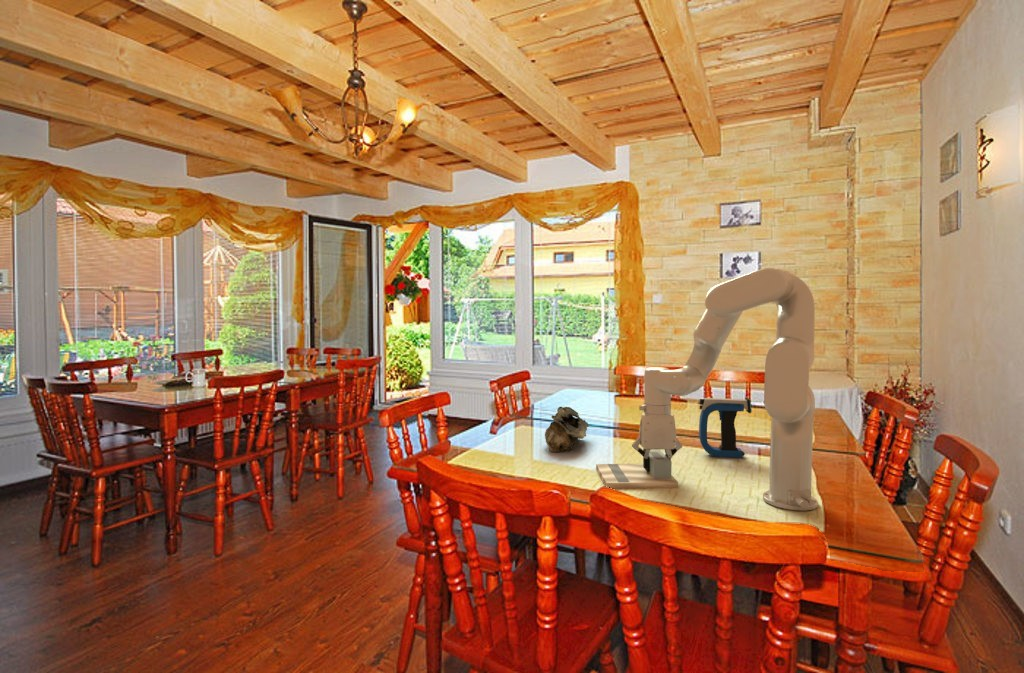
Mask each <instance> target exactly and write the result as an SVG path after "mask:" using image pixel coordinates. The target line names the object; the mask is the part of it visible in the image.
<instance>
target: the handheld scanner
mask: <svg viewBox="0 0 1024 673" xmlns="http://www.w3.org/2000/svg"><path fill="white" fill-rule="evenodd" d="M751 402H752V401H751V399H750V398H749V397H745V398H742V399H741V398H717V397H714V398H713V397H704V398H700V399H699V410H701V411H700V415H699V421H698V423H699V424H698V436H699V437H698V438H699V441H700V442H699V443H700V444H701V446H702V448H703V450H704V451H705V452H706V453H707V454H708V455H710V456H711V457H715V458H725V459H726V458H727V459H728V458H731V459H743V458H744V457H745V455H746V454H745V452H744V450H742V449H741V448H739V447H737V431H736V427H735V420H736V418H737V414H738V412H744V411H746V412H747V413H748V414H752V412H753V410H752V403H751ZM713 412H718V414H719V415H718V416H719V421H720V445H719V447H718V446H713V445H710V443H709V442H708V422H709V420H708V419H709V416H710V415H711V414H712V413H713Z"/></svg>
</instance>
